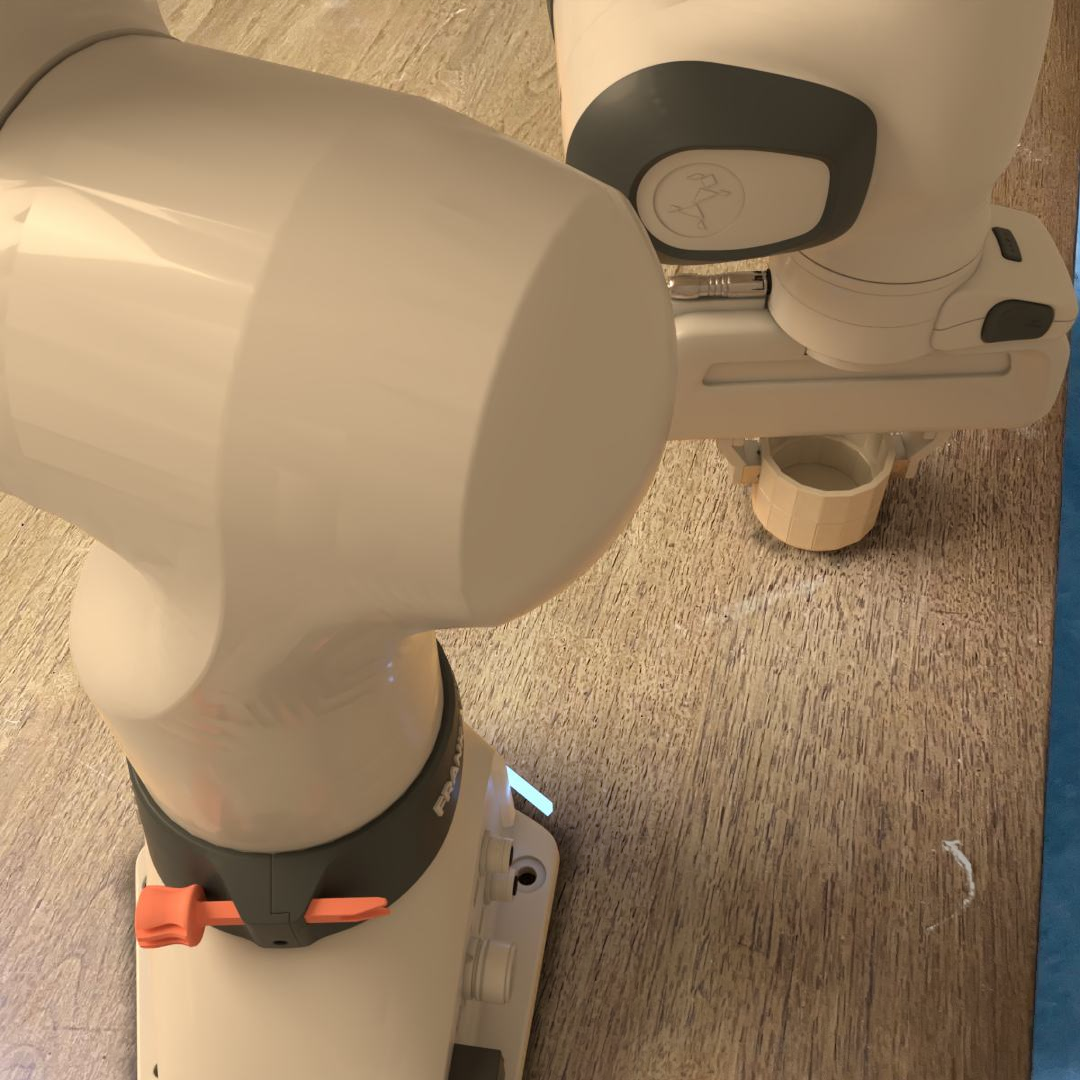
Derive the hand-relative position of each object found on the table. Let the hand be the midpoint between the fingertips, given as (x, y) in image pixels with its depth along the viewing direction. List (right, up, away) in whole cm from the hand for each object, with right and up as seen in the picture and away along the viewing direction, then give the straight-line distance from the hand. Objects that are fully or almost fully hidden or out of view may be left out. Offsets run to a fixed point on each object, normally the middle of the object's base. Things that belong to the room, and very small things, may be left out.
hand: (820, 472), depth 65 cm
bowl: (0, -2, +2) cm, 3 cm away
